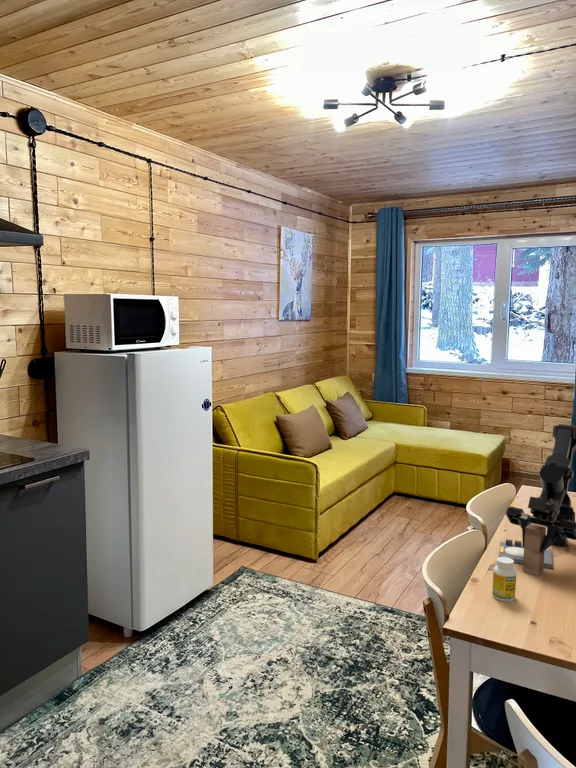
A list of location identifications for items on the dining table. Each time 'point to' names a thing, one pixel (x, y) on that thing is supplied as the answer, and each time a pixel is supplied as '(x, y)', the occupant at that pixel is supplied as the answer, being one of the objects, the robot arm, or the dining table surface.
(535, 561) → the post
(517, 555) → the panel
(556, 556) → the dining table surface
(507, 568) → the supplement bottle
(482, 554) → the dining table surface
